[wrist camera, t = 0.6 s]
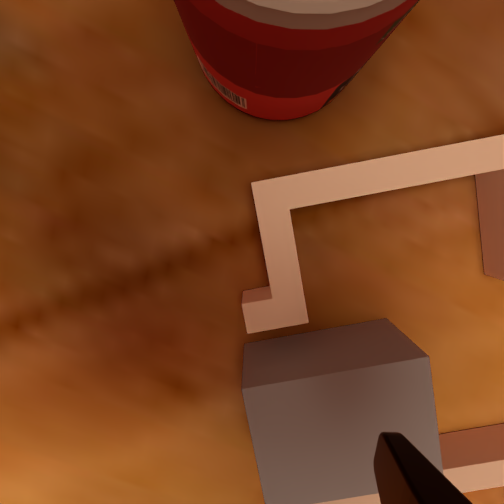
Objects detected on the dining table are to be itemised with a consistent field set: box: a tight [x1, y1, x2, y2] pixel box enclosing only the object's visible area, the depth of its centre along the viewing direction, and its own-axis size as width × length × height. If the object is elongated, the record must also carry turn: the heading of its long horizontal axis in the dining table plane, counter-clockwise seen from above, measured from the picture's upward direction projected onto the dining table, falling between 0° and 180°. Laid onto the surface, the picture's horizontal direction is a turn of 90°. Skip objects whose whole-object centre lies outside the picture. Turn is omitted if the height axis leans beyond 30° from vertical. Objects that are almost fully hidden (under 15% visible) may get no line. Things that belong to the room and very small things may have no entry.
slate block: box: [241, 318, 443, 504], centre depth 18 cm, size 6×8×5 cm
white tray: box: [242, 134, 504, 504], centre depth 18 cm, size 18×22×4 cm
